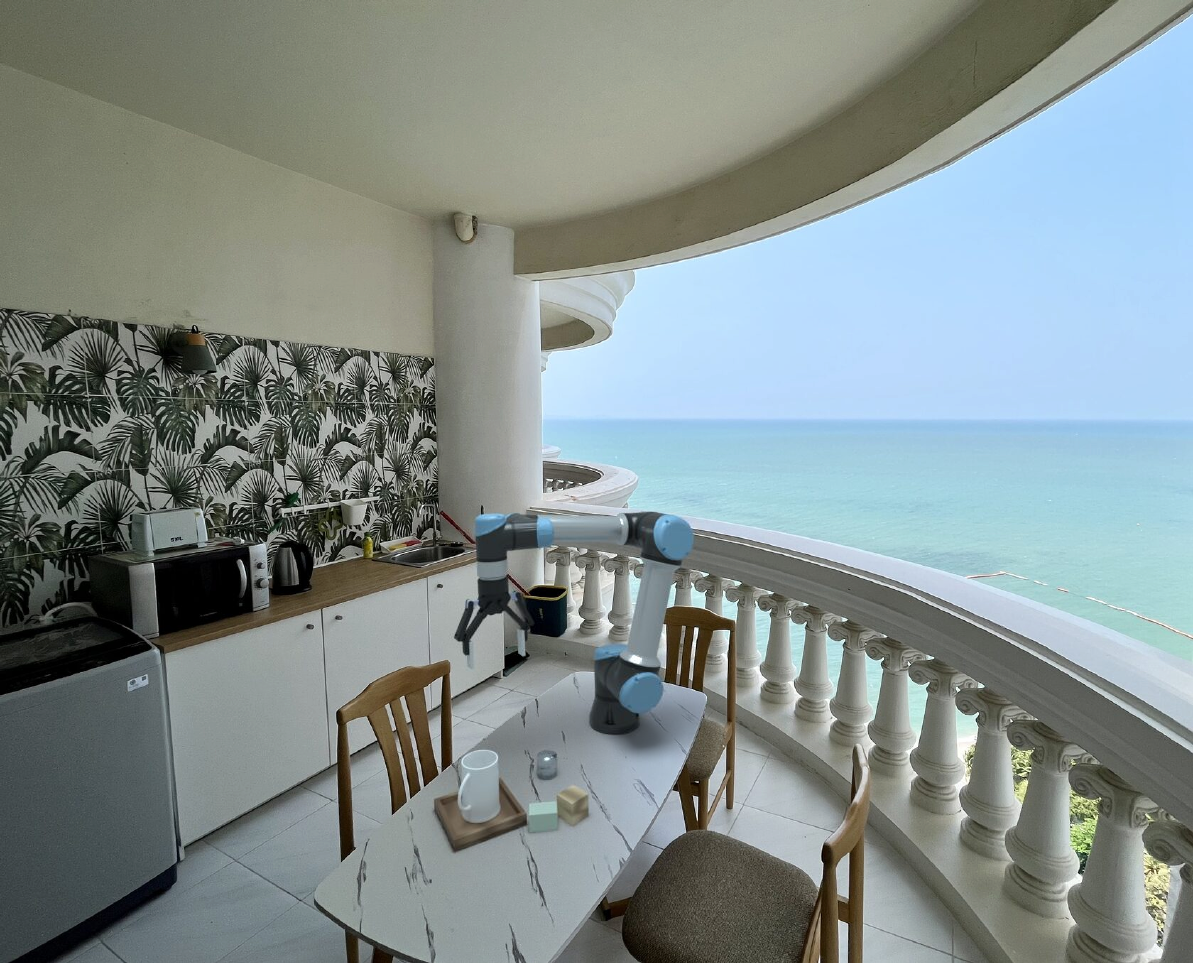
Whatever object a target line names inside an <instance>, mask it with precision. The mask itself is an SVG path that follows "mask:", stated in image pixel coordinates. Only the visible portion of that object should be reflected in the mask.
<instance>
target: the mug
mask: <svg viewBox="0 0 1193 963" xmlns="http://www.w3.org/2000/svg"><path fill="white" fill-rule="evenodd" d="M460 764H461V784H460V786H459V788H458V791H459V793H458V805H459V808H460V809H461V810H462V817H463V818H464V820H466V821H468V822H470V823H484V822H487V821H490V820H492V819H493V818H495V817H496V816H497V815H498V814H499V812H500V803H499V778H500V777H499V756H498V753H497V752H495V751H493V750H490V749H478V750H474V751H471V752H468V753H467V754H465V755H464V756H463V757H462V758H461V762H460ZM461 796H462V803H461Z"/></svg>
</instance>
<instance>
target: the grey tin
mask: <svg viewBox="0 0 1193 963" xmlns="http://www.w3.org/2000/svg"><path fill="white" fill-rule="evenodd" d="M536 773H537V774H536V776H537V779H540V780H541V781H551V780H554V779H555V778H556V777H557V776H558V754H557V752H556V751H554V750H551V749H544V750H541V751H540V752H538V753H537V755H536Z"/></svg>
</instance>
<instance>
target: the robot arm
mask: <svg viewBox="0 0 1193 963" xmlns="http://www.w3.org/2000/svg"><path fill="white" fill-rule="evenodd" d="M474 539H475V555H476V558H475V559H476V576H477V577H478V579H477V593H478V594H477V595H478V596H477V597H478V598H477V599H470V598H468V599H465V607H464V611H463V613H462V616H461V619H460V621H459V623H458V626H457V627H456V631H455V633H454V636H453V638H454V639H455V640H456V641H457V642H459V643H461V645H462V647H461V648H462V653H463V655H464V656H466V664H467V665H466V666H467V668H469V669H470V670H474V669H475V661H474V660H475V659H474V643H473V641H472V640H471V639H472V638H473V636H474V634H475V633H476V632H477V630H478V628H479V627H480V625H481V624H482V623H483V621H484V620H485V619H486V618H487V617H488V616H494V615H496V614H497V615H500V614H503V613H504V612H505V613H506V614H507V615H508V616H509V617H510V618H511V619H512V620H513V621H514V622H515V623H516V624H517V625H518V626H519V627H518V628H517V629H516V630H517V631H516V634H517V651H518V654H519V655H521V656H522V657H526V642H528V639H529V638H528V636H529V635H528V631H529V630H530V627H531V626H534V624H535V621H534V620H533V617H532V616H531V614H530V612H529V611H528V609H527V607H526V605H525V603H524V601H523V598H522V593H521V592H520V591H517V590H513V591H512V592H509V587H510V586H509V577H508V576H507V575H508V574H509V566H508V552H512V551H521V550H532V549H542V548H543V549H544V548H547V547H551V546H552V545H553V543H554V542H555V543H556V542H558V543H562V542H564V543H567V542H568V543H573V542H574V543H580V542H581V543H582V542H583V543H616V544H617V545H618V546H626V547H627V546H628V547H634V548H638V549H641V550H640V551H641V552H640V556H639V558H640V560H641V561H642V563H643V568H642V574H641V576H640V577H641V578H640V581H639V582H640V583H639V587H638V592H637V597H636V601H635V607H634V612H633V617H632V619H631V620H632V621H631V624H630V631H629V635H628V639H627V644H625V643H611V644H604V645H601V646H598V647H597V648H596V649H595V650H594V656H593V663H594V664H593V665H594V666H593V668H594V699H593V703H592V706H591V709H590V711H589V725H590V727H591V728H592V729H594V730H595V731H597V732H599V733H603V734H608V735H621V734H622V735H623V734H627V733H630V732H632V731H635V730H636V729H637V728H638V727H639V726H640V723H641V720H640V719H641V715H640V714H644V713H648V712H650V711H652V709H653V708H655V707H657V706H658V704H659V703H660V702H661V699H662V697H663V695H664V685H663V681H662V679H661V678H660V676H659V674H660V669H661V661H660V660H659V658H658V652H659V649H660V648H659V647H660V642H661V637H662V632H663V627H664V623H665V622H664V621H665V619H666V613H667V608H668V603H669V598H670V593H671V590H672V589H671V588H672V583H673V579H674V574H675V572H676V571H677V570H678V569H680V568H681V567H682V563H683V559H685V558H686V557H687V556H688V555H690V553H691V552H692V550H693V548H694V544H695V535H694V531H693V529H692V527H691V525H690V523H689V522H688V521H687V520H685V518H682V517H679V516H677V515H674V514H668V513H662V512H657V511H640V512H639V511H638V512H620V513H618V514H617V515H615V516H614V515H613V516H612V515H608V516H607V515H562V514H561V515H560V514H557V515H556V514H521V513H519V512H515V513H514V512H513V513H509V514H507V515H506V516H505V514H504V513H484V514H479V515H478V516H476V517H475V519H474ZM511 600H512V601H513V602H514V604H515V605H516V607H517V609H518V610H519V613H520V614H521V617H522V618H523V619H524V620H525V621H523V619H522V618H521V617H520V616H518V614H517V613H516V612H515V611H514V610H513V609H512V608H511V607H510V606H509V603H510V601H511ZM477 606H478V607H479V609H478V610H477V612H476V615H475V616H474V617H473V619H472V621H471V618H472V616H473V613H474V610H475V609H476V607H477ZM470 621H471V622H470ZM469 623H470V624H469Z"/></svg>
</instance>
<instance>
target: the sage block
mask: <svg viewBox="0 0 1193 963" xmlns="http://www.w3.org/2000/svg"><path fill="white" fill-rule="evenodd" d="M528 808H529V809H528V810H529V811H528V818H529V820H528V822H529V823H528V824H529V828H528V830H529V833H530V834H531V833H532V834H533V833H542V832H552V831H558V830H559V829H558V827H559V826H558V816H557V800H556V801H555V800H554V801H545V802H542V801H541V802H533V803H529V804H528Z"/></svg>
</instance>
